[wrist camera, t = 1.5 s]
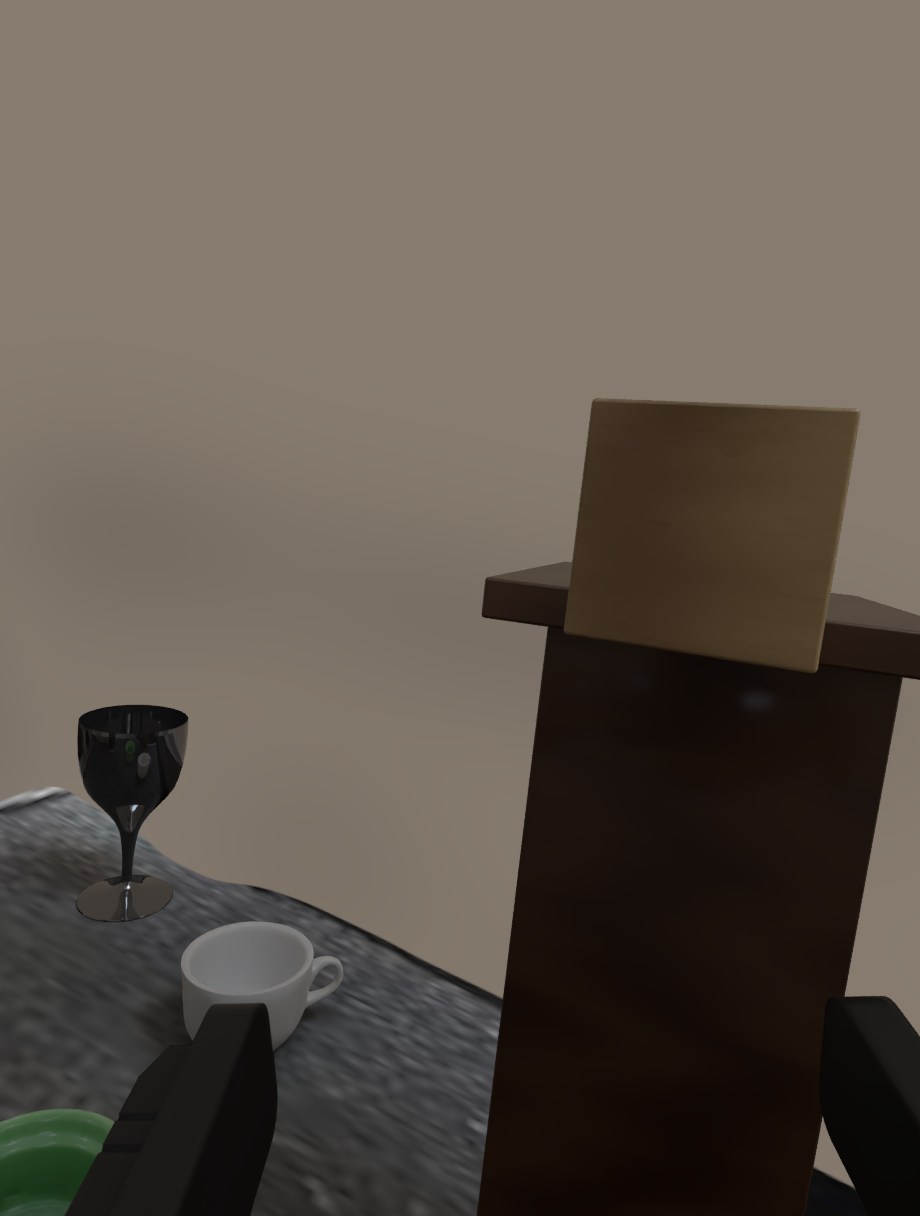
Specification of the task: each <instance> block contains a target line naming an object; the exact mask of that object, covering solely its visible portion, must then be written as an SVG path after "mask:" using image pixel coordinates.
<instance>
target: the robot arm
mask: <svg viewBox="0 0 920 1216" xmlns="http://www.w3.org/2000/svg"><path fill="white" fill-rule="evenodd" d="M819 1099H820V1105H821V1110H822V1115H823V1118H824V1122H825V1125H826V1128H827V1131H828V1134H829V1136H830V1139H831V1141H832V1143H833V1145H834V1147H835V1149H836V1151H837V1153H838V1155H839V1157H840V1159H841V1161H842V1163H843V1165H844V1167H845V1169H846V1171H847V1173H848V1175H849V1177H850V1179H851V1181H852V1182H853V1185H854V1187H855V1189H856V1191H857V1193H858V1195H859V1197H860V1199H861V1201H862V1203H863V1205H864V1207H865V1209H866V1211H867V1213H868V1215H869V1216H920V1036H919V1035H918V1033H917V1032H916V1031H915V1029H914V1028H913V1027H912V1025H911V1024H910V1023H909V1021H908V1020H907V1019H906V1017H905V1016H904V1015H903V1013H902V1012H901V1010H900V1009H899V1008H898V1006H897V1005H896V1004H895V1003H894V1002H893V1001H892V1000H891V999H890V998H888V997H885V996H859V997H830V998H829V999H828V1001H827V1002H826V1006H825V1014H824V1026H823V1038H822V1050H821V1062H820V1074H819ZM276 1114H277V1082H276V1073H275V1065H274V1056H273V1047H272V1038H271V1030H270V1021H269V1013H268V1009H267V1006H266V1005H265V1004H264V1003H235V1004H213V1005H212V1006H210V1008H209V1009H208V1011H207V1012H206V1014H205V1016H204V1018H203V1021H202V1023H201V1025H200V1027H199V1029H198V1031H197V1033H196V1035H195V1037H194V1039H193V1041H192V1044H191V1045H170V1046H169V1047H168V1048H167V1049H166V1050H165V1051H164V1052H163V1053H162V1054H161V1055H160V1056H159V1057H158V1058H157V1059H156V1060H155V1061H154V1062H153V1063H152V1064H151V1065H150V1066H149V1067H148V1068H147V1069H146V1070H145V1071H144V1072H143V1073H142V1074H141V1075H140V1076H139V1077H138V1079H137V1081H136V1083H135V1085H134V1087H133V1089H132V1090H131V1092H130V1094H129V1096H128V1098H127V1100H126V1102H125V1103H124V1105H123V1107H122V1109H121V1111H120V1113H119V1119H118V1121H115V1122H114V1124H113V1126H112V1128H111V1130H110V1131H109V1133H108V1135H107V1137H106V1139H105V1141H104V1143H103V1147H102V1151H101V1153H98V1154H97V1156H96V1158H95V1159H94V1161H93V1163H92V1165H91V1167H90V1169H89V1171H88V1173H87V1174H86V1176H85V1178H84V1180H83V1182H82V1184H81V1186H80V1187H79V1189H78V1191H77V1193H76V1195H75V1197H74V1199H73V1201H72V1202H71V1204H70V1206H69V1208H68V1210H67V1212H66V1214H65V1215H64V1216H250V1214H251V1210H252V1207H253V1203H254V1200H255V1197H256V1193H257V1190H258V1187H259V1183H260V1180H261V1176H262V1173H263V1170H264V1166H265V1163H266V1160H267V1156H268V1153H269V1149H270V1146H271V1142H272V1139H273V1134H274V1129H275V1123H276Z"/></svg>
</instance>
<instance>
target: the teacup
mask: <svg viewBox="0 0 920 1216" xmlns="http://www.w3.org/2000/svg"><path fill="white" fill-rule="evenodd" d="M313 956H314V952H313V947H312V945H311V943H310V941H309V940H308V939H307V938H306V937H305V936H304V935H303V934H302V933H300V932H299V931H297V930H295V929H293V928H290V927H288V926H285V925H281V924H277V923H271V922H241V923H235V924H230V925H226V926H222V927H219V928H216V929H213V930H211V931H209V932H207V933H205V934H203V935H201V936H200V937H198V938H197V939H195V940H194V941H193V942H192V943H191V944H190V945H189V946H188V947H187V948H186V950H185V951H184V953H183V956H182V959H181V976H182V995H183V1013H184V1022H185V1027H186V1030H187V1032H188V1034H189V1036H190V1037H191V1039H192V1040H193V1039H194V1037H195V1035H196V1033H197V1031H198V1029H199V1027H200V1025H201V1023H202V1021H203V1018H204V1016H205V1014H206V1012H207V1011H208V1009H209V1008H210V1006H212V1005H213V1004H235V1003H264V1004H265V1005H266V1006H267V1009H268V1013H269V1021H270V1030H271V1038H272V1047H273V1051H274V1050H275V1049H277V1048H278V1047H279V1046H280V1045H282V1044H283V1043H284V1042H285V1041H286V1040H287V1039H288V1038H289V1036H290V1035H291V1034H292V1033H293V1031H294V1030H295V1028H296V1027H297V1025H298V1023H299V1021H300V1019H301V1017H302V1015H303V1012H304V1009H305V1008H307V1007H308V1006H310V1005H312V1004H314V1003H316V1002H318V1001H319V1000H321V999H323V998H325V997H326V996H328V995H329V994H331V993H332V992H333V991H335V990H336V989H337V988H338V987H339V985H340V984H341V982H342V980H343V967H342V965H341V962H340V961H339V960H338V959H337V958H335V957H332V956H322V957H318V958H316V959H313ZM328 965H333V966H335V967H336V969H337V973H336V977H335V979H334V980H333V982H332V983H331V984H329V985H328V986H326V987H325V988H322V989H320V990H316V991H309V989H310V986H311V984H312V982H313V980H314V978H315V977H316V975H317V974H318V973H319V972H320V970H321V969H323V968H324V967H325V966H328Z"/></svg>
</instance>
